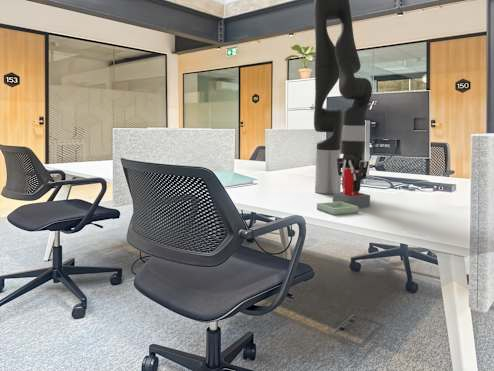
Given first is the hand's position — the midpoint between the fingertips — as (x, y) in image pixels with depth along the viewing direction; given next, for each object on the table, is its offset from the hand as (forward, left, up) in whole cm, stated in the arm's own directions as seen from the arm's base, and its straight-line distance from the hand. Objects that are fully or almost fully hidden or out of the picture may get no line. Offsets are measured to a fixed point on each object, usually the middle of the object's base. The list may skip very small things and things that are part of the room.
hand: (350, 189), depth 139 cm
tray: (+10, +6, -5) cm, 13 cm away
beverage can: (0, 0, -5) cm, 5 cm away
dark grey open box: (0, 0, -5) cm, 5 cm away
